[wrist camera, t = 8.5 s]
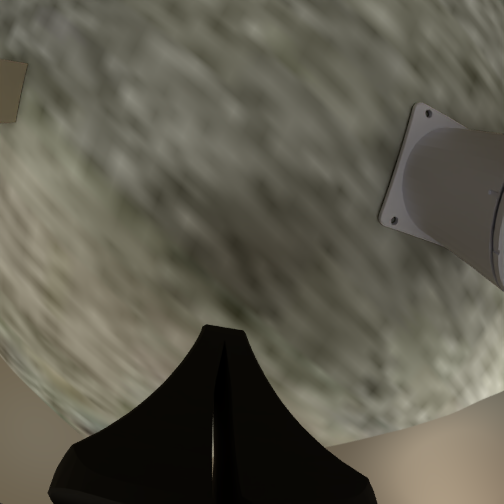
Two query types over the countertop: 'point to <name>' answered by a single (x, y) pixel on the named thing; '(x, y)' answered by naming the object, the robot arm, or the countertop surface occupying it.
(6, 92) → the rail assembly
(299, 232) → the countertop surface
